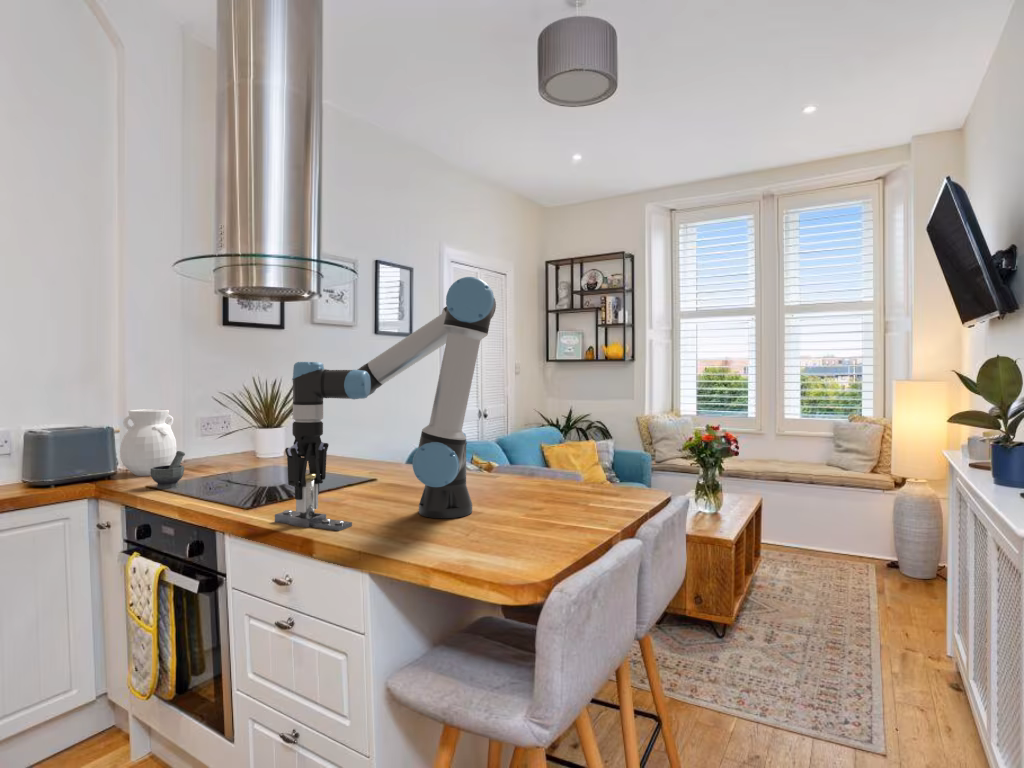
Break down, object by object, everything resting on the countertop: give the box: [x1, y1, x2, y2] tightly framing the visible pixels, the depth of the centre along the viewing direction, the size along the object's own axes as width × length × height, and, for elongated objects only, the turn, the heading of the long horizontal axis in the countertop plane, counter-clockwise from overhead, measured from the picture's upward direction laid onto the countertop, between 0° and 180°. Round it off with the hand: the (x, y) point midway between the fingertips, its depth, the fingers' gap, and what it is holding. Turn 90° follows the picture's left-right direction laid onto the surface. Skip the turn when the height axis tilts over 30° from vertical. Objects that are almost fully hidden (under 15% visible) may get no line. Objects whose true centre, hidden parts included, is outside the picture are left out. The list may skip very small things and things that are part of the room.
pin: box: [300, 472, 316, 519], centre depth 148 cm, size 4×4×13 cm
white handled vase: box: [119, 408, 177, 477], centre depth 219 cm, size 19×18×25 cm
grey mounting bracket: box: [274, 509, 353, 532], centre depth 147 cm, size 21×6×3 cm, turn 67°
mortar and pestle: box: [150, 450, 186, 490], centre depth 195 cm, size 11×9×12 cm
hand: (307, 509), depth 148 cm, fingers closed on pin, 4 cm apart
